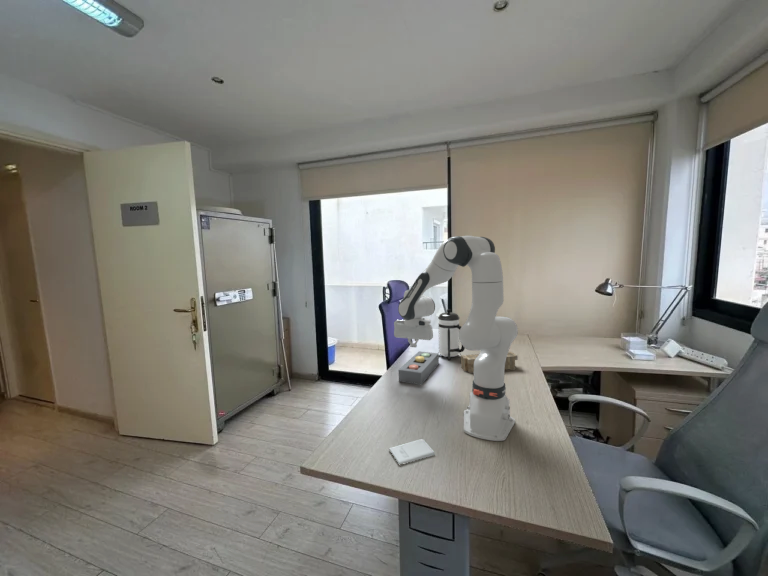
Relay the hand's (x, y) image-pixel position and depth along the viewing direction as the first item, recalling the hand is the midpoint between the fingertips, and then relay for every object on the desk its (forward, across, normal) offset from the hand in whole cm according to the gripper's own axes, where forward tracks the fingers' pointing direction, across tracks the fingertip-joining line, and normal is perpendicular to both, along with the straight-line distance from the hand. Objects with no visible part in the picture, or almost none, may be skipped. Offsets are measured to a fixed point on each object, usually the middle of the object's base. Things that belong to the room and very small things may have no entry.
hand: (413, 347), depth 159 cm
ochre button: (+11, 0, +10) cm, 15 cm away
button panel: (+17, 0, +10) cm, 20 cm away
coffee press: (+17, +10, +40) cm, 45 cm away
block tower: (+17, +34, +28) cm, 47 cm away
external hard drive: (+18, +20, -58) cm, 63 cm away
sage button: (+12, 0, +20) cm, 23 cm away
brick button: (+12, 0, 0) cm, 12 cm away
